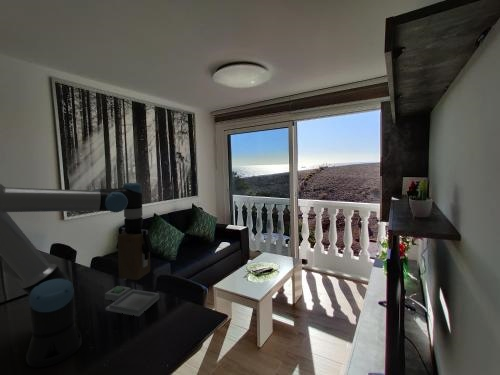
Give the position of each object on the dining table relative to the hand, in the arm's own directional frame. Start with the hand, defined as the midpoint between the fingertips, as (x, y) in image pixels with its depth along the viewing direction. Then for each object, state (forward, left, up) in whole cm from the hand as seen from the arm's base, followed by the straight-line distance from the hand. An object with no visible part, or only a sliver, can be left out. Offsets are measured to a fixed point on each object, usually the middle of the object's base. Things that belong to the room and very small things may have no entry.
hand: (134, 265), depth 115 cm
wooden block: (0, 0, -5) cm, 5 cm away
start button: (+4, +13, -18) cm, 23 cm away
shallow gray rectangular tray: (0, +1, -19) cm, 19 cm away
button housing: (+4, +13, -19) cm, 23 cm away
